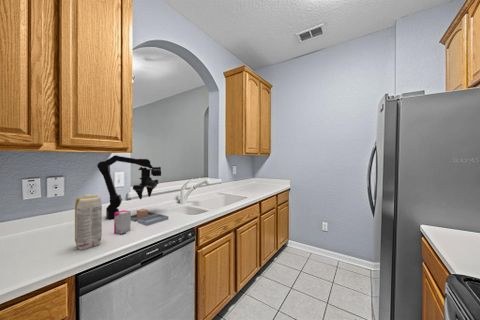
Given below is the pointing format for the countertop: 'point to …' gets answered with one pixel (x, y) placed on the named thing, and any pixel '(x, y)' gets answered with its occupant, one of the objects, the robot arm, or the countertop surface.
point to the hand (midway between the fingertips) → (145, 197)
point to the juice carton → (88, 221)
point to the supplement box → (122, 222)
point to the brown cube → (142, 213)
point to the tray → (152, 219)
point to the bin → (134, 217)
